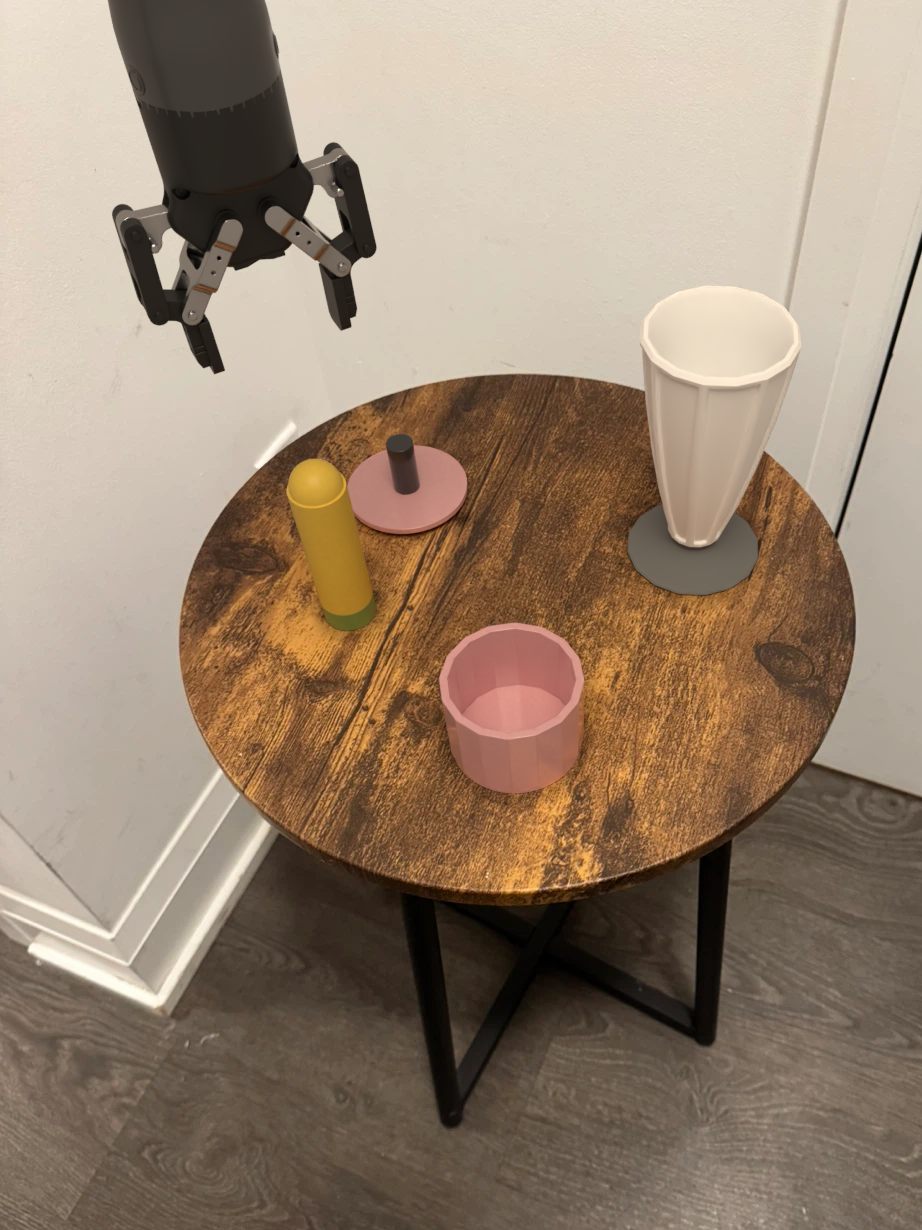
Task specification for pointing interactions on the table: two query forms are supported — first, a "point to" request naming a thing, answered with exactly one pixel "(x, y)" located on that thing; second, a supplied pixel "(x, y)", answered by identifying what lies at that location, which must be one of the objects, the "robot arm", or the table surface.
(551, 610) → the table surface
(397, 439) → the lid
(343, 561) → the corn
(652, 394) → the cup
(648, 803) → the table surface
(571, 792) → the table surface
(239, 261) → the robot arm
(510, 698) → the pot
